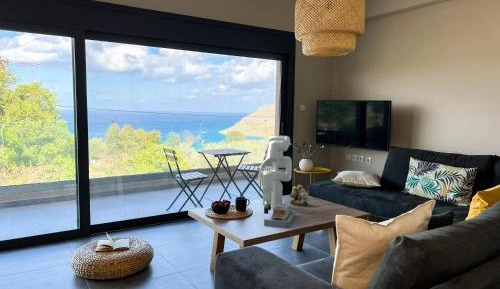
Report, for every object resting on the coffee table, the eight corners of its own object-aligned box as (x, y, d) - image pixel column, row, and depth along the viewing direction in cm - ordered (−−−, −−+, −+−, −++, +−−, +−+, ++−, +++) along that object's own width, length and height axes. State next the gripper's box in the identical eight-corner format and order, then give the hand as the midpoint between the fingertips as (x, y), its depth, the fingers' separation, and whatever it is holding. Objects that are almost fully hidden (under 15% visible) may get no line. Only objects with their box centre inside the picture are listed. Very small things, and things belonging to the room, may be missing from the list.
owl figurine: (286, 204, 319) (286, 184, 318) (292, 201, 329) (293, 182, 327) (305, 207, 309) (305, 187, 307) (311, 204, 318) (311, 185, 317)
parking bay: (273, 213, 291) (273, 208, 291) (294, 214, 287) (294, 209, 286) (264, 225, 260) (264, 219, 260) (287, 227, 256) (288, 222, 256)
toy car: (270, 224, 263) (270, 210, 262) (277, 215, 287) (277, 202, 286) (285, 226, 260) (285, 212, 259) (291, 216, 284) (291, 203, 283)
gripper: (265, 186, 283) (264, 208, 285) (260, 191, 266) (260, 214, 268) (274, 187, 281) (274, 209, 283) (270, 192, 265) (270, 215, 266)
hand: (267, 211), depth 276 cm, fingers open, 9 cm apart
